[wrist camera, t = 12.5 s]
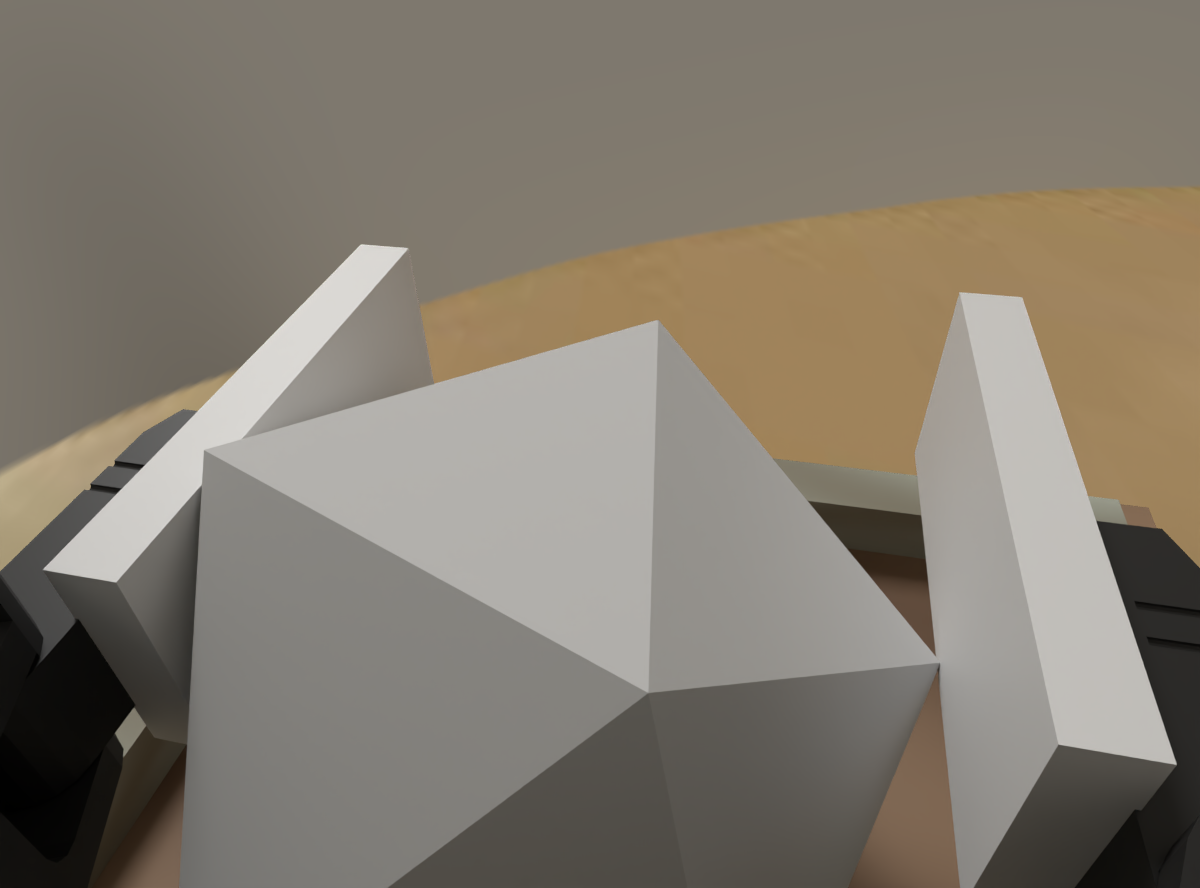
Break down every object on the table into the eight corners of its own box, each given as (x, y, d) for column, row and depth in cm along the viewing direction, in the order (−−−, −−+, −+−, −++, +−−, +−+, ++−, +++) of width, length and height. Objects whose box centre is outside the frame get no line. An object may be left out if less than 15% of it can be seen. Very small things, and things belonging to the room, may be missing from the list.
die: (869, 1309, 9) (1219, 499, 8) (-90, 1636, 5) (323, 157, 4) (585, 827, 16) (749, 364, 15) (89, 816, 13) (259, 191, 11)
